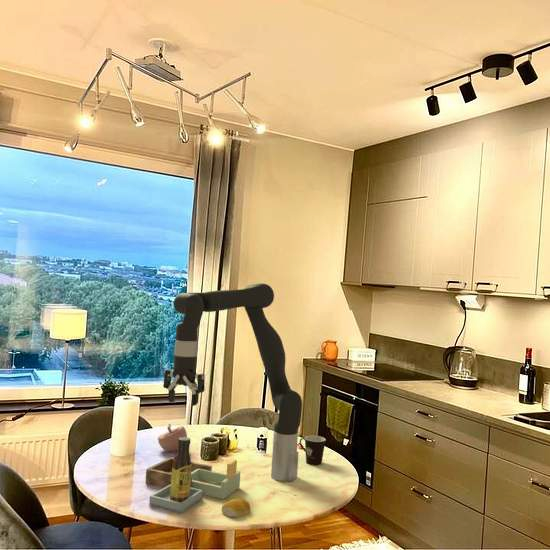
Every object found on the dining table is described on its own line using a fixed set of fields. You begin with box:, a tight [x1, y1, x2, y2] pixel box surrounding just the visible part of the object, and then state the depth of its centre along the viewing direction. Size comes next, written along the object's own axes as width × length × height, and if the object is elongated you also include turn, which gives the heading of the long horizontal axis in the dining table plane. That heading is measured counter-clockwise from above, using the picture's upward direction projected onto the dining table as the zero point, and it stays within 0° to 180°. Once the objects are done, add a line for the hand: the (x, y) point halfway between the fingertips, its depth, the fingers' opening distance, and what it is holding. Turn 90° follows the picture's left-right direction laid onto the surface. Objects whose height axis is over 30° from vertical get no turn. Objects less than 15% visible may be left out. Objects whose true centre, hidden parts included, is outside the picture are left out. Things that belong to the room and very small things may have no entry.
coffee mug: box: [299, 435, 327, 467], centre depth 218 cm, size 12×9×10 cm
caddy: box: [191, 459, 241, 500], centre depth 183 cm, size 17×12×10 cm
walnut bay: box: [145, 457, 213, 489], centre depth 188 cm, size 18×15×5 cm
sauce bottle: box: [170, 436, 192, 503], centre depth 170 cm, size 6×6×20 cm
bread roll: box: [221, 497, 251, 519], centre depth 166 cm, size 8×9×4 cm
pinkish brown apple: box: [157, 423, 188, 453], centre depth 221 cm, size 12×12×11 cm
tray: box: [148, 484, 204, 515], centre depth 170 cm, size 12×13×3 cm
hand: (182, 403), depth 171 cm, fingers open, 8 cm apart
